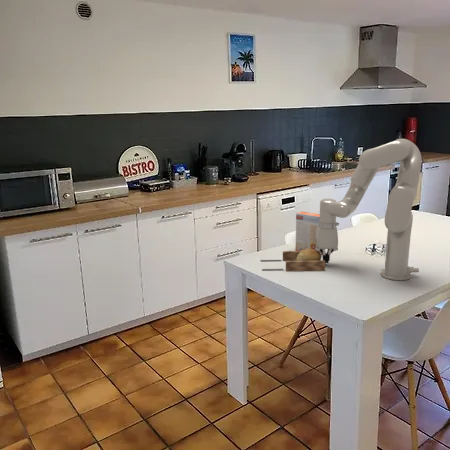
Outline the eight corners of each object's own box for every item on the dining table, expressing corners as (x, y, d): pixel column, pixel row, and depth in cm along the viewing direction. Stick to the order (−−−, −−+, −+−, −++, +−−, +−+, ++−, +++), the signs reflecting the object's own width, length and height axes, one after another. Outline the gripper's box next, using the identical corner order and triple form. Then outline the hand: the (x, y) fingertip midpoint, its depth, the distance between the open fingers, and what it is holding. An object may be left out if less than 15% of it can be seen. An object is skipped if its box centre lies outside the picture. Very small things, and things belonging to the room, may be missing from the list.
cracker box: (324, 253, 232) (325, 214, 227) (318, 256, 228) (319, 216, 222) (301, 248, 241) (302, 210, 236) (295, 251, 237) (295, 212, 232)
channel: (318, 259, 224) (319, 250, 222) (324, 270, 208) (325, 261, 207) (282, 259, 224) (282, 251, 223) (285, 271, 209) (286, 261, 208)
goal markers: (280, 260, 223) (280, 259, 223) (283, 270, 210) (283, 269, 210) (260, 260, 224) (260, 259, 224) (262, 270, 210) (262, 269, 210)
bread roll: (326, 263, 217) (327, 247, 215) (307, 271, 208) (307, 255, 206) (310, 259, 224) (311, 243, 222) (291, 266, 215) (291, 250, 213)
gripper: (341, 223, 214) (340, 259, 219) (310, 223, 215) (309, 259, 219) (345, 227, 207) (343, 264, 212) (312, 227, 208) (311, 265, 212)
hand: (326, 262), depth 216 cm, fingers closed
